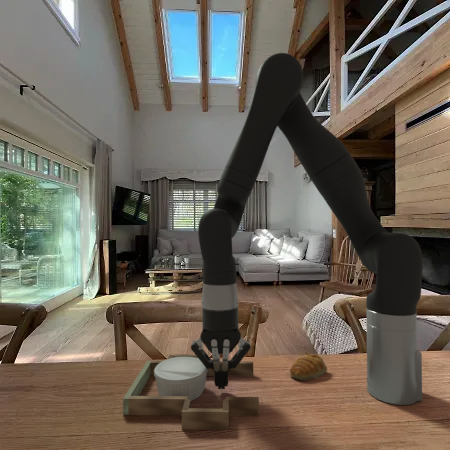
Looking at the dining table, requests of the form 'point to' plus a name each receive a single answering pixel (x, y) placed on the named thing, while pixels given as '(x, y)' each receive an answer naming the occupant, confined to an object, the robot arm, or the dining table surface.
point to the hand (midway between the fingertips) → (221, 387)
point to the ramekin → (181, 377)
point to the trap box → (189, 401)
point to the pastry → (308, 367)
